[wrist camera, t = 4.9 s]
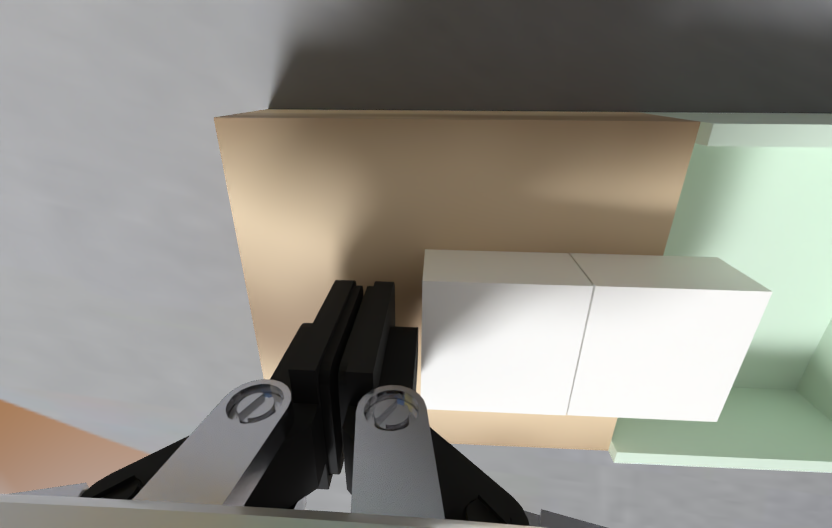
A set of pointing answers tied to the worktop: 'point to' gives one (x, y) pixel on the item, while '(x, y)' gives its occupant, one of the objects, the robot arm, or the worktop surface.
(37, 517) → the robot arm
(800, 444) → the bin
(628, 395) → the tile
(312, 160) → the oak plate
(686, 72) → the worktop surface
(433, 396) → the tile
